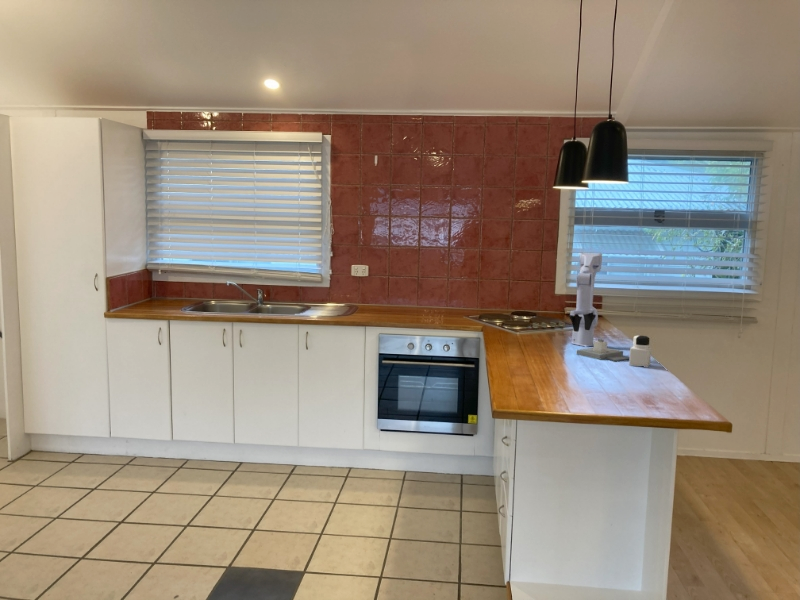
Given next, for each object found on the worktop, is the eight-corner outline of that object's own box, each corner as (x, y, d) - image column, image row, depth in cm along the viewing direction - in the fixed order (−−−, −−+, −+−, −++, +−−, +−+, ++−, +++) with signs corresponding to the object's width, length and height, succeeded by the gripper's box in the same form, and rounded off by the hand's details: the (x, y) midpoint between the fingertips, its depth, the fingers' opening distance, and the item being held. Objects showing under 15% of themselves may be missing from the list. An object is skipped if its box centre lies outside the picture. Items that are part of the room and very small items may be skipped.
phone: (605, 360, 256) (605, 357, 256) (621, 358, 260) (621, 355, 260) (614, 363, 252) (614, 360, 252) (630, 361, 256) (630, 358, 256)
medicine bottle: (650, 364, 248) (652, 335, 246) (647, 367, 241) (649, 338, 240) (632, 362, 251) (633, 333, 250) (628, 365, 245) (630, 336, 244)
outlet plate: (576, 354, 265) (576, 349, 265) (599, 350, 274) (600, 346, 274) (599, 359, 255) (599, 354, 255) (622, 355, 264) (623, 351, 264)
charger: (593, 354, 264) (594, 339, 263) (598, 353, 266) (599, 338, 265) (600, 356, 261) (601, 340, 260) (606, 355, 263) (607, 339, 262)
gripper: (580, 302, 259) (578, 333, 261) (601, 300, 268) (599, 330, 269) (567, 300, 265) (565, 330, 267) (588, 298, 273) (586, 328, 275)
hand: (581, 330), depth 268 cm, fingers open, 7 cm apart
